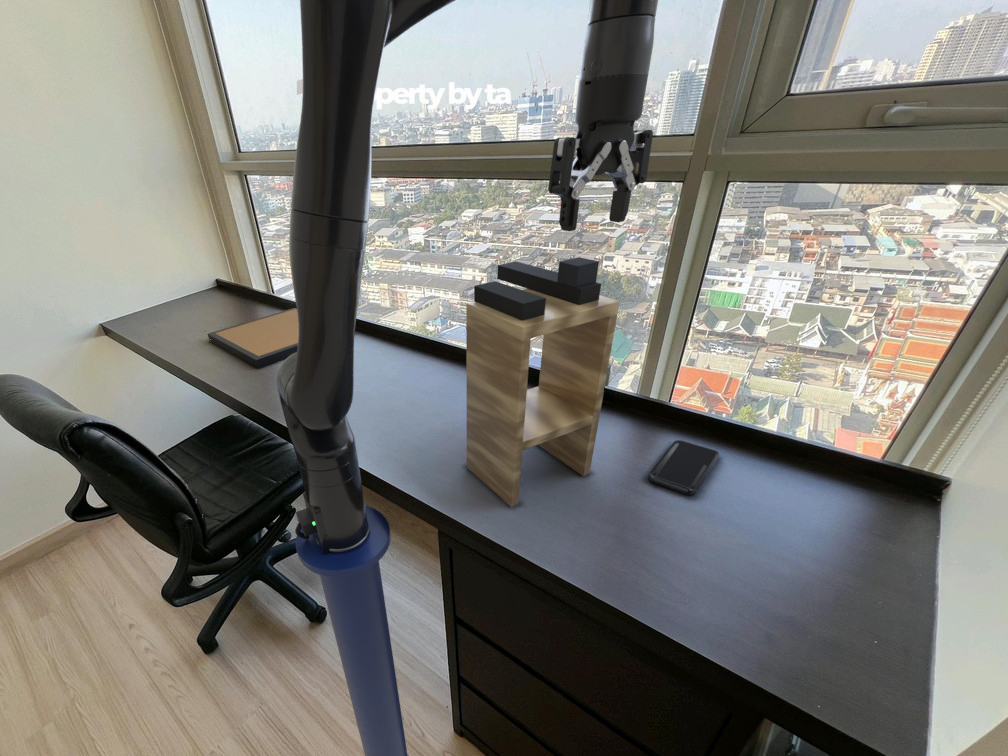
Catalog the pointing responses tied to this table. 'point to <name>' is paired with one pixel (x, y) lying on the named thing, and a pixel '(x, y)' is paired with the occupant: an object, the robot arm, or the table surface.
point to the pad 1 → (510, 300)
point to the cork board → (261, 338)
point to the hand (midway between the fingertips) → (592, 225)
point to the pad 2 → (556, 279)
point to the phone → (684, 467)
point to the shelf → (543, 409)
